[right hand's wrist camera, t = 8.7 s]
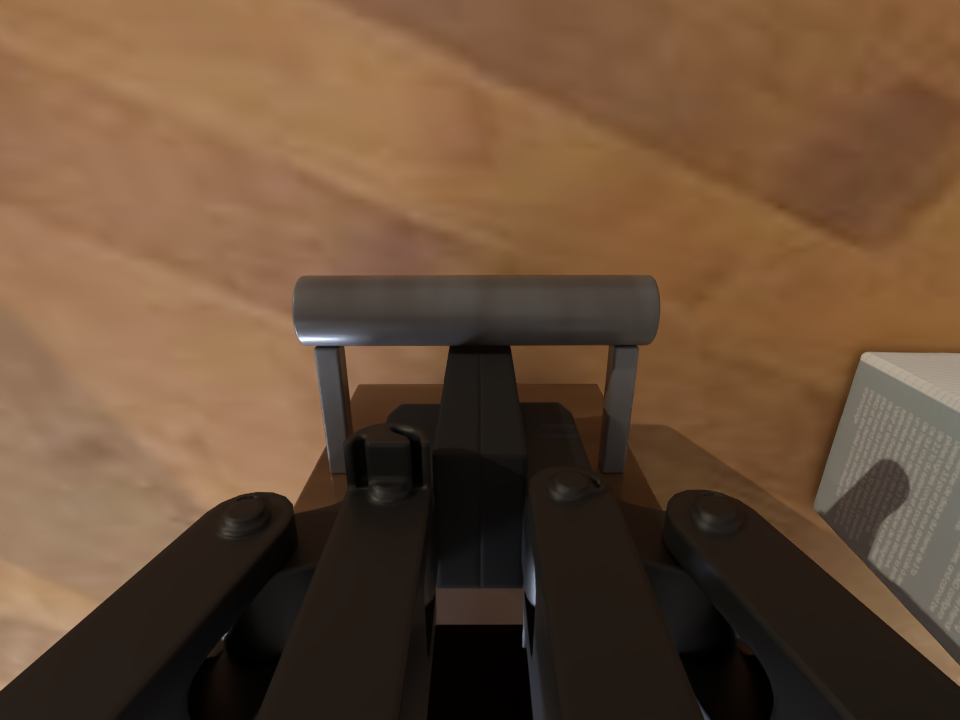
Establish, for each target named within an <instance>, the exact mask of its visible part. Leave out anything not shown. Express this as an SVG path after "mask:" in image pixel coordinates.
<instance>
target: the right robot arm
mask: <svg viewBox="0 0 960 720" xmlns="http://www.w3.org/2000/svg"><path fill="white" fill-rule="evenodd" d="M343 451H344V460H345V469H346V478H347V486H348V489H347V492H346V494H345V497H344V500H342V501H340V502H338V503H336V504H333V505H330V506H326V507H323V508H319V509H314V510H309V511H305V512H300V513H295V514H294V510H293V504H292V503H291V502H290V501H289V500H288V499H287V498H286V497H285V496H282V495H279V494H276V493H273V492H255V493H249V494H243V495H239V496H237V497H234V498H232V499H229V500H227V501H224V502H222V503H220V504H219V505H217V506H216V507H214V508H213V509H211V510H210V511H208V512H207V513H206V514H204V515H203V516H202V517H201V518H200V519H199V520H197V521H196V522H195V523H194V524H193V525H192V526H191V527H189V528H188V529H187V530H186V531H185V532H184V533H182V534H181V535H180V536H179V537H178V538H177V539H176V540H174V541H173V542H172V543H171V544H170V545H169V546H167V547H166V548H165V549H164V550H163V551H162V552H161V553H159V554H158V555H157V556H156V557H155V558H154V559H152V560H151V561H150V562H149V563H148V564H147V565H146V566H144V567H143V568H142V569H141V570H140V571H139V572H137V573H136V574H135V575H134V576H133V577H132V578H130V579H129V580H128V581H127V582H126V583H125V584H124V585H122V586H121V587H120V588H119V589H118V590H117V591H115V592H114V593H113V594H112V595H111V596H110V597H109V598H107V599H106V600H105V601H104V602H103V603H102V604H100V605H99V606H98V607H97V608H96V609H95V610H94V611H92V612H91V613H90V614H89V615H88V616H87V617H85V618H84V619H83V620H82V621H81V622H80V623H79V624H77V625H76V626H75V627H74V628H73V629H72V630H70V631H69V632H68V633H67V634H66V635H65V636H64V637H62V638H61V639H60V640H59V641H58V642H57V643H55V644H54V645H53V646H52V647H51V648H50V649H49V650H47V651H46V652H45V653H44V654H43V655H42V656H40V657H39V658H38V659H37V660H36V661H35V662H34V663H32V664H31V665H30V666H29V667H28V668H27V669H25V670H24V671H23V672H22V673H21V674H20V675H19V676H17V677H16V678H15V679H14V680H13V681H12V682H10V683H9V684H8V685H7V686H6V687H5V688H4V689H2V690H1V691H0V720H427V712H428V701H429V690H430V680H431V669H432V658H433V647H434V636H435V625H436V615H437V613H436V583H437V589H523V580H524V613H523V637H522V648H527V657H528V668H529V679H530V690H531V700H532V711H533V720H960V687H959V686H958V685H957V684H956V683H955V682H954V681H952V680H951V679H950V678H949V677H948V676H947V675H945V674H944V673H943V672H942V671H941V670H940V669H938V668H937V667H936V666H935V665H934V664H933V663H931V662H930V661H929V660H928V659H927V658H926V657H924V656H923V655H922V654H921V653H920V652H919V651H917V650H916V649H915V648H914V647H913V646H912V645H910V644H909V643H908V642H907V641H906V640H905V639H903V638H902V637H901V636H900V635H899V634H898V633H897V632H895V631H894V630H893V629H892V628H891V627H890V626H888V625H887V624H886V623H885V622H884V621H883V620H881V619H880V618H879V617H878V616H877V615H876V614H874V613H873V612H872V611H871V610H870V609H869V608H867V607H866V606H865V605H864V604H863V603H862V602H860V601H859V600H858V599H857V598H856V597H855V596H853V595H852V594H851V593H850V592H849V591H848V590H846V589H845V588H844V587H843V586H842V585H841V584H839V583H838V582H837V581H836V580H835V579H834V578H832V577H831V576H830V575H829V574H828V573H827V572H825V571H824V570H823V569H822V568H821V567H820V566H818V565H817V564H816V563H815V562H814V561H813V560H812V559H810V558H809V557H808V556H807V555H806V554H805V553H803V552H802V551H801V550H800V549H799V548H798V547H796V546H795V545H794V544H793V543H792V542H791V541H789V540H788V539H787V538H786V537H785V536H784V535H782V534H781V533H780V532H779V531H778V530H777V529H775V528H774V527H773V526H772V525H771V524H770V523H768V522H767V521H766V520H765V519H764V518H763V517H761V516H760V515H759V514H758V513H757V512H756V511H754V510H753V509H752V508H750V507H749V506H747V505H746V504H744V503H743V502H741V501H740V500H737V499H735V498H732V497H730V496H727V495H725V494H722V493H719V492H715V491H714V492H713V491H708V490H686V491H683V492H680V493H677V494H675V495H674V496H673V497H672V498H671V499H670V500H669V501H668V504H667V510H666V511H662V510H657V509H652V508H647V507H642V506H638V505H635V504H631V503H627V502H625V501H623V500H621V499H618V498H616V496H615V494H614V491H613V489H612V487H611V486H610V484H609V483H608V482H607V480H606V479H605V478H603V477H602V476H600V475H599V474H597V473H596V472H594V471H593V470H592V467H591V465H590V462H589V459H588V456H587V454H586V451H585V448H584V445H583V443H582V440H581V438H580V434H579V432H578V429H577V428H576V423H575V421H574V418H573V415H572V413H571V412H570V411H569V410H568V409H566V408H565V407H564V406H563V405H561V404H560V403H559V402H519V397H518V391H517V385H516V378H515V372H514V366H513V360H512V354H511V348H510V346H450V348H449V354H448V360H447V366H446V372H445V379H444V385H443V391H442V397H441V403H440V404H401V405H400V406H398V407H397V408H396V409H395V410H393V411H392V412H391V413H390V414H389V415H388V417H387V420H386V423H382V424H375V425H371V426H368V427H365V428H361V429H360V430H358V431H356V432H354V433H352V434H351V435H349V436H348V438H347V439H346V440H345V441H344V442H343Z"/></svg>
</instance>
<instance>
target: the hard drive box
mask: <svg viewBox="0 0 960 720" xmlns="http://www.w3.org/2000/svg"><path fill="white" fill-rule="evenodd" d="M813 508H814V509H815V511H816V512H817V513H818V514H819V515H820V516H821V517H822V518H823V519H824V520H825V521H826V522H827V523H828V525H829V526H830V527H831V528H832V529H833V530H834V531H835V532H836V533H837V535H838V536H839V537H840V538H841V539H842V540H843V541H844V542H845V543H846V544H847V545H848V546H849V547H850V548H851V550H852V551H853V552H854V553H855V554H856V555H857V556H858V557H859V558H860V559H861V560H862V561H863V562H864V563H865V564H866V565H867V566H868V568H869V569H870V570H871V571H872V572H873V573H874V574H875V575H876V576H877V577H878V578H879V579H880V580H881V581H882V582H883V583H884V584H885V585H886V586H887V588H888V589H889V590H890V591H891V592H892V593H893V594H894V595H895V596H896V597H897V598H898V600H899V601H900V602H901V603H902V604H903V605H904V606H905V607H906V608H907V609H908V611H909V612H910V613H911V614H912V615H913V616H914V617H915V618H916V619H917V620H918V621H919V622H920V623H921V624H922V625H923V626H924V627H925V628H926V629H927V630H928V631H929V633H930V634H931V635H932V636H933V637H934V638H935V639H936V640H937V641H938V642H939V643H940V645H941V646H942V647H943V648H944V649H945V650H946V651H947V652H948V653H949V654H950V655H951V657H952V658H953V659H954V660H955V661H956V662H957V663H958V664H959V665H960V353H897V352H865V353H863V354H862V355H861V358H860V361H859V364H858V367H857V370H856V373H855V376H854V379H853V382H852V386H851V389H850V392H849V395H848V398H847V401H846V404H845V407H844V410H843V413H842V416H841V419H840V422H839V426H838V429H837V432H836V435H835V438H834V441H833V444H832V447H831V451H830V454H829V457H828V460H827V463H826V466H825V470H824V473H823V476H822V480H821V483H820V486H819V489H818V492H817V495H816V499H815V502H814V507H813Z"/></svg>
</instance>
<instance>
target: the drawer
mask: <svg viewBox="0 0 960 720" xmlns="http://www.w3.org/2000/svg"><path fill="white" fill-rule="evenodd" d="M292 315H293V323H294V328H295V332H296V335H297V337H298V339H299V341H300V342H301V343H302V344H303V345H305V346H316V347H315V349H314V352H315V360H316V367H317V375H318V383H319V390H320V398H321V406H322V413H323V421H324V429H325V436H326V444H327V445H326V447H325V449H324V451H323V453H322V455H321V457H320V458H319V460H318V462H317V464H316V466H315V468H314V470H313V472H312V474H311V475H310V477H309V479H308V481H307V483H306V485H305V487H304V489H303V491H302V492H301V494H300V496H299V498H298V500H297V502H296V504H295V506H294V508H293V510H294V514H295V513H300V512H305V511H309V510H314V509H319V508H323V507H326V506H330V505H333V504H336V503H338V502H340V501H342V500H344V497H345V494H346V492H347V489H348V486H347V478H346V469H345V460H344V451H343V442H344V441H345V440H346V439H347V438H348V436H349V435H351V434H352V433H354V432H356V431H358V430H360V429H361V428H365V427H368V426H371V425H375V424H382V423H386V420H387V417H388V415H389V414H390V413H391V412H392V411H393V410H395V409H396V408H397V407H398V406H400V405H401V404H440V403H441V397H442V391H443V385H444V384H360V385H358V387H357V389H356V391H355V392H354V394H353V396H352V398H351V400H350V397H349V387H348V378H347V368H346V359H345V350H344V346H524V345H609V352H608V363H607V373H606V383H605V393H604V397H603V395H602V393H601V391H600V389H599V387H598V385H597V384H516V385H517V391H518V397H519V402H559V403H560V404H561V405H563V406H564V407H565V408H566V409H568V410H569V411H570V412H571V413H572V415H573V418H574V421H575V423H576V428H577V429H578V432H579V434H580V438H581V440H582V443H583V445H584V448H585V451H586V454H587V456H588V459H589V462H590V465H591V467H592V470H593V471H594V472H596V473H597V474H599V475H600V476H602V477H603V478H605V479H606V480H607V482H608V483H609V484H610V486H611V487H612V489H613V491H614V494H615V496H616V498H618V499H621V500H623V501H625V502H627V503H631V504H635V505H638V506H642V507H647V508H652V509H657V510H662V509H661V507H660V505H659V503H658V501H657V499H656V497H655V495H654V493H653V491H652V489H651V488H650V486H649V484H648V482H647V480H646V478H645V476H644V474H643V472H642V470H641V468H640V466H639V464H638V462H637V461H636V459H635V457H634V455H633V453H632V451H631V449H630V447H629V445H628V436H629V427H630V419H631V411H632V403H633V394H634V386H635V378H636V369H637V361H638V353H639V348H638V346H637V345H648V344H650V343H652V341H653V340H654V338H655V336H656V333H657V329H658V325H659V319H660V296H659V290H658V286H657V283H656V281H655V279H654V278H653V277H652V276H650V275H436V276H302V277H300V278H299V279H298V281H297V283H296V285H295V288H294V293H293V301H292ZM436 613H437V615H436V625H435V636H434V647H433V658H432V669H431V680H430V690H429V701H428V712H427V720H533V711H532V700H531V690H530V679H529V668H528V657H527V648H522V637H523V613H524V580H523V589H437V583H436Z"/></svg>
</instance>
